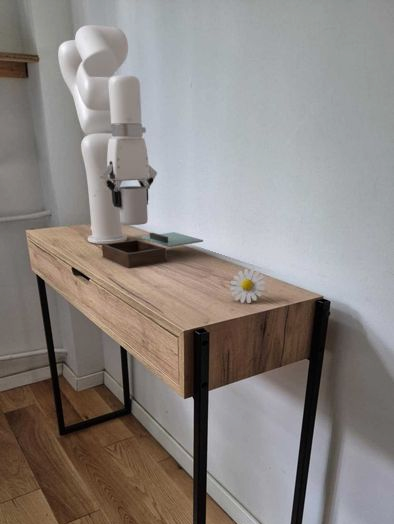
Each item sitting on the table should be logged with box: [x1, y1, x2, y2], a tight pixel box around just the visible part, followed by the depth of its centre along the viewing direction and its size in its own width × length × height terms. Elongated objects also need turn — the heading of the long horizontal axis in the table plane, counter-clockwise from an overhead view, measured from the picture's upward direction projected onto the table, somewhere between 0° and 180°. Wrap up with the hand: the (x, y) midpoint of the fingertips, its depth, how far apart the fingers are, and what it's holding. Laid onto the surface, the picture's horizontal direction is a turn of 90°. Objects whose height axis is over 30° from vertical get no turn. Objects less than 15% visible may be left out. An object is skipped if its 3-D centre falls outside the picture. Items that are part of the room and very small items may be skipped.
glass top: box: [141, 231, 204, 248], centre depth 139 cm, size 15×12×2 cm
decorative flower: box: [229, 268, 267, 304], centre depth 105 cm, size 8×6×15 cm
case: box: [101, 239, 167, 269], centre depth 133 cm, size 15×12×4 cm
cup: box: [119, 185, 149, 226], centre depth 128 cm, size 7×10×9 cm
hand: (130, 205), depth 128 cm, fingers closed on cup, 7 cm apart
